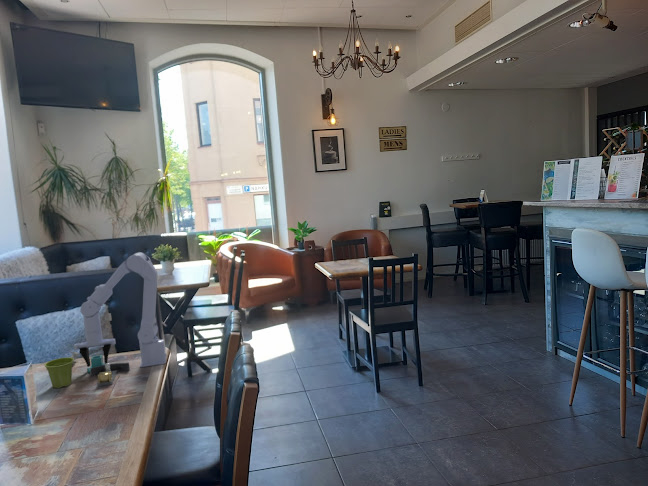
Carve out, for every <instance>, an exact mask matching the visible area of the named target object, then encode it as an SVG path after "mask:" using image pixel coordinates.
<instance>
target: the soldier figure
mask: <svg viewBox="0 0 648 486" xmlns="http://www.w3.org/2000/svg"><path fill="white" fill-rule="evenodd" d="M69 353H70V354H72V355H70V357H69V358H73V359H74V361H73V363H74V362H75V360H76V359H77V358H78V356H79V355H81V354H80V353H79V352H78V351H71V350H70V351H69Z"/></svg>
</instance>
